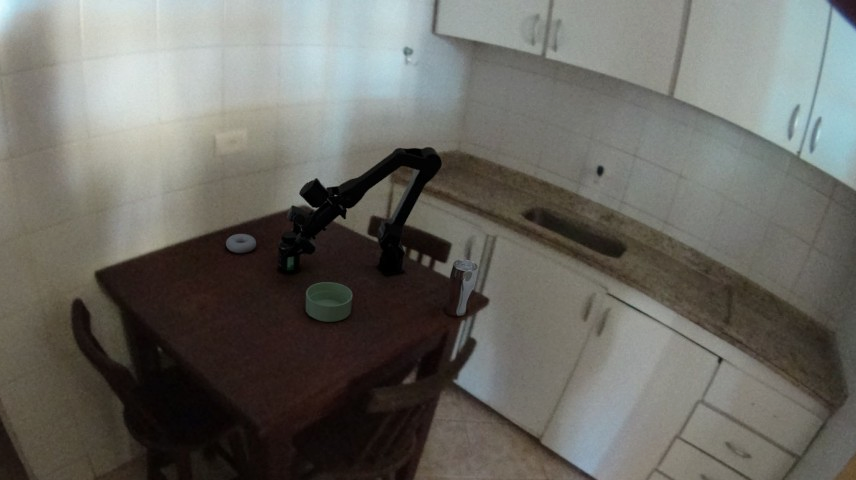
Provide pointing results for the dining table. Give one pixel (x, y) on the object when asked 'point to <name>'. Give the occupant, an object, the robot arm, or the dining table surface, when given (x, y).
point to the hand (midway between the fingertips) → (284, 250)
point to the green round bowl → (328, 301)
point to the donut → (241, 243)
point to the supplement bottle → (285, 264)
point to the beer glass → (460, 287)
